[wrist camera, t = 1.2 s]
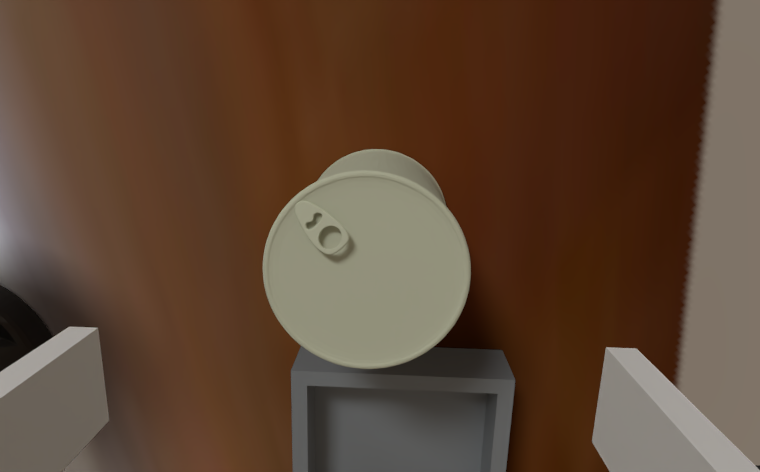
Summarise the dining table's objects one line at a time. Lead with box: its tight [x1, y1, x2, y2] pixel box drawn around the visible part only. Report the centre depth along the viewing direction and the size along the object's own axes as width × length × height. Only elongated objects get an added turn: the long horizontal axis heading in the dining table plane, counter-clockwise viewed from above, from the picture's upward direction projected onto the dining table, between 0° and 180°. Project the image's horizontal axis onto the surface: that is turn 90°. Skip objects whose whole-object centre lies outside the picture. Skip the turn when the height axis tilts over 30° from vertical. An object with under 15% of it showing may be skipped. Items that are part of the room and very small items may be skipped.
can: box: [263, 149, 471, 369], centre depth 27 cm, size 9×9×12 cm
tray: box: [291, 346, 515, 472], centre depth 35 cm, size 14×14×4 cm
